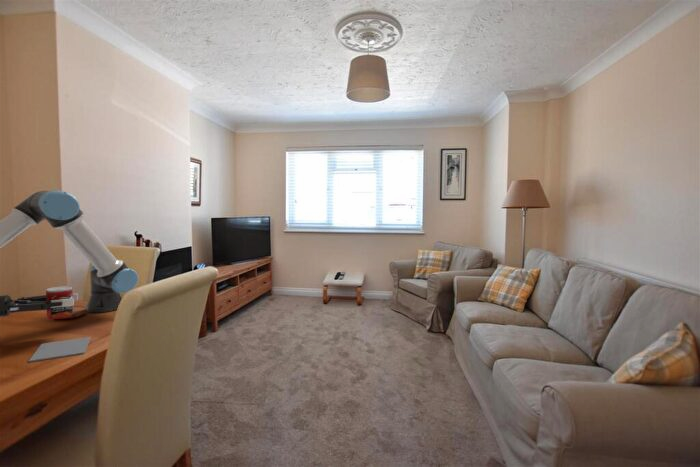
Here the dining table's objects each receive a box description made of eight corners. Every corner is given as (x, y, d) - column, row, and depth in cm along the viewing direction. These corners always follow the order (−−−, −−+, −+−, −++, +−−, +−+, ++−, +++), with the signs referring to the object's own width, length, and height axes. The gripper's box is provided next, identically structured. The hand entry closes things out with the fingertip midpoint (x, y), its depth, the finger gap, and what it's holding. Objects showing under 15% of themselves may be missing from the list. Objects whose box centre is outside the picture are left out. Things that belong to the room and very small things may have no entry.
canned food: (50, 320, 121) (50, 291, 120) (43, 316, 125) (42, 288, 125) (76, 315, 128) (75, 288, 127) (68, 311, 132) (68, 285, 131)
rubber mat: (41, 344, 118) (41, 343, 118) (90, 338, 126) (90, 337, 125) (28, 362, 104) (28, 360, 104) (84, 353, 112) (84, 352, 112)
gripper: (4, 309, 125) (80, 302, 138) (-18, 325, 108) (71, 315, 120) (3, 290, 125) (79, 284, 137) (-19, 303, 107) (70, 296, 120)
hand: (75, 299), depth 129 cm, fingers closed on canned food, 8 cm apart
